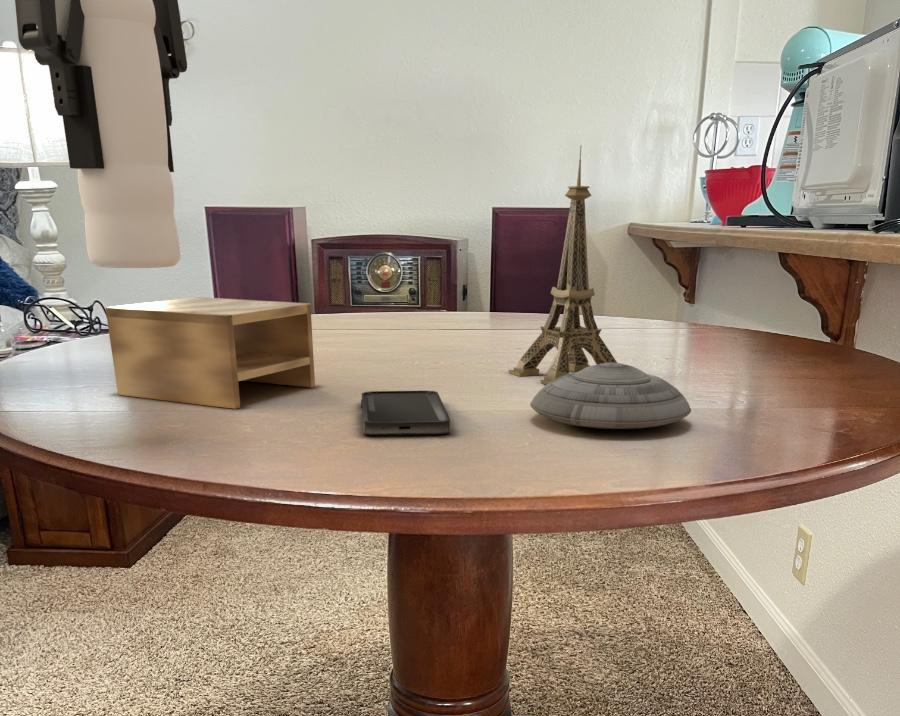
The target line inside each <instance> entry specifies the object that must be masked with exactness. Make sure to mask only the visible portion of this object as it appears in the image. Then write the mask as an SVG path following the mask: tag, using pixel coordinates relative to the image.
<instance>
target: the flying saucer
mask: <svg viewBox="0 0 900 716" xmlns="http://www.w3.org/2000/svg"><path fill="white" fill-rule="evenodd" d="M529 406H530V407H531V409H532V410H533V411H534V412H536V413H537V414H538V415H540V416H542V417H544V418H547V419H549V420H552V421H555V422H558V423H562V424H566V425H572V426H576V427H584V428H592V429H604V430H634V429H637V430H638V429H646V428H655V427H660V426H665V425H670V424H673V423H676V422H679V421H680V420H682V419H684V418H686V417H688V416H689V415H690V414H691V413H692V408H691V406H690V403H689V402H688V400H687V399H686V397H685V396H684V395H683V394H682V392H681V391H680V390H679V389H678V388H677V387H675V386H674V385H673V384H671V383H670V382H668V381H667V380H665V379H663V378H661V377H659V376H656V375H653V374H648V373H646V372H645V371H643V370H642V369H640V368H637V367H634V366H632V365H628V364H625V363H620V362H617V363H601V364H593V365H590V367H587V368H584V369H582V370H580V371H579V372H573V371H572V372H569V373H568V374H565V375H563V376H561V377H559V378H557V379H555V380H553V381H551V382H550V383H548V384H547V385H546V384H544V386H543V387H541V389H539V391H537V393H536V394H535V395H534V397H533V398H532V400H531V402H530V403H529Z"/></svg>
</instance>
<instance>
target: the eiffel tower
mask: <svg viewBox="0 0 900 716" xmlns="http://www.w3.org/2000/svg"><path fill="white" fill-rule="evenodd" d="M579 146H580V148H579V150H580V151H579V160H578V168H577V179H576V185H569V186H567V189H568V190H567V192H566V193H565V194H564V196H565V197H567V198H568V199H569V200H570V204H569V210H568V217H567V224H566V230H565V237H564V243H563V249H562V254H561V255H562V256H561V262H560V268H559V274H558V279H557V286H552V287H551V291H550V295H552V296H553V301H552V304H551V308H550V312H549V313H548V317H547V319H546V321H545V322H544V325H542V326H541V325H540V327H539V328H540V330H541V333H540V334H539V336H537V337H536V339H535V340H534V341H533V343H532V344H531V345H530V346H529V347H528V348H527V351H525V353H524V354H523V355H522V356H521V358H520V359H519V360H518V362H517V364H516V366H515V367H513V369H508V373H509V374H511V375H514V376H517V377H525V376H539V375H540V369H539V368H537V367H538V366H539V365H540V364H541V362H542V361H543V360H544V358H545V357H546V355H547V354H548V353H549V352H550V351H551V350H552V349H553V348H555V349H556V350H557V352H556V354H555V356H554V358H553V360H552V362H551V364H550V366H549V367H548V369H547V371H546V376H544V377H543V379H540V384H542V385H547V384H548V383H550V382H551V381H553V380H555V379H557V378H559V377H561V376H563V375H565V374H568V373H570V372H572V373H573V372H579V371H580V370H582V369H584V368H587V367H590V366H591V364H589V360H588V357H587V355H586V353H585V351H586V352H587V353H588V354H589V355H590V356H591V358H592V359H593V362H594V363H595V365H597V364H601V363H618V361H617V360H616V359H615V357H614V356H613V354H612V352H611V351H610V349H609V348H608V346H607V345H606V343H605V342H604V340H603V339H602V338H601V336H600V333H601V332H602V328H598V325H597V322H596V320H595V317H594V311H593V305H592V297H594V296H596V294H595V290H594V287H592V288H590V286H589V285H590V284H589V267H588V266H589V264H588V247H587V246H588V245H587V224H586V220H587V219H586V203H585V202H586V199H588V198H590V197H591V196H592V193H591V192H590V190H589V189H590V186H588V185H582V144H580V145H579ZM563 306H564V309H563ZM562 309H563V313H562ZM580 309H581V315H582V320H583V325H584V326H582V325H581V318H580ZM561 313H562V314H563V315H562V320H561V324H560V326H557V325H558V323H559V319H560V315H561ZM583 349H584V350H585V351H584V350H583Z"/></svg>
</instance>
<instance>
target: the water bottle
mask: <svg viewBox="0 0 900 716" xmlns="http://www.w3.org/2000/svg"><path fill="white" fill-rule="evenodd" d="M80 3H81V8H82V11H83V14H84V16H85V17H84V26H83V36H82V45H81V54H80V60H79V61H78V63H76V65H77V66H80V65H84V66H90V67H91V71H92V78H93V86H94V93H95V101H96V109H97V116H98V124H99V131H100V139H101V147H102V154H103V162H104V169H77V186H78V193H79V199H80V202H81V205H82V209H83V212H84V233H85V244H86V252H87V256H88V259H89V262H91V263H92V264H93V265H94V266H96V267H100V268H109V269H157V268H159V269H160V268H169V267H175V266H177V264H178V263H179V262H180V261H181V246H180V238H179V232H178V228H177V223H176V219H175V192H174V184H173V183H174V182H173V178H172V174H171V172H170V171H169V168H168V142H167V126H166V114H165V104H164V94H163V85H162V77H161V69H160V62H159V56H158V50H157V44H156V39H155V34H154V26H155V22H156V15H155V8H154V4H153V1H152V0H80Z"/></svg>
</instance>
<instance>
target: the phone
mask: <svg viewBox="0 0 900 716" xmlns="http://www.w3.org/2000/svg"><path fill="white" fill-rule="evenodd" d="M360 408H361V411H362V412H361V413H362V432H363V434H365V435H367V436H368V435H369V436H405V435H406V436H409V435H411V436H412V435H413V436H414V435H415V436H416V435H417V436H418V435H444V434H445V435H446V434H449V433H450V432H451V418H450V415H449V414H448V411H447V409H446V407H445V405H444V403H443V400H442V399H441V396H440V394H439V392H438V391H435V390H372V391H364V392H362V393H361V398H360Z"/></svg>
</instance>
